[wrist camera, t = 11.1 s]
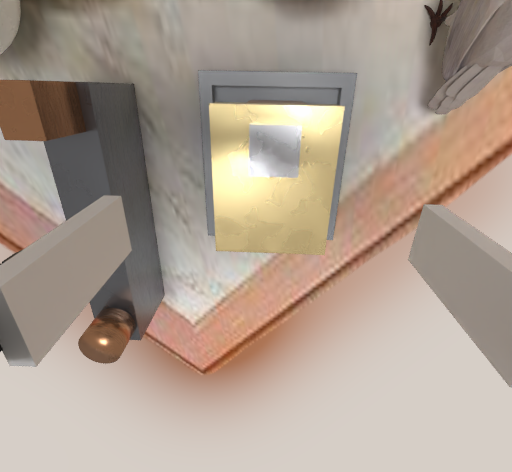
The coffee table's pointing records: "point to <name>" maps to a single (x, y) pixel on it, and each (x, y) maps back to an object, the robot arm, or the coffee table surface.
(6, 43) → the lidded jar
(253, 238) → the lever cap
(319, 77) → the tray
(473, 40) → the bird
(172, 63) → the coffee table surface
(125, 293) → the plane
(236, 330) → the coffee table surface
